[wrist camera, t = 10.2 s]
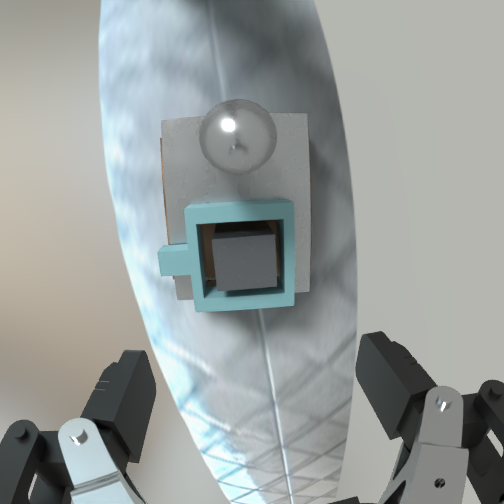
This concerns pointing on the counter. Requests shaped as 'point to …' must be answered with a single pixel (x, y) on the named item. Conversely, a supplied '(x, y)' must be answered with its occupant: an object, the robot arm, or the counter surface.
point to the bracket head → (191, 261)
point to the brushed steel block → (244, 255)
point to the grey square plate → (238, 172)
